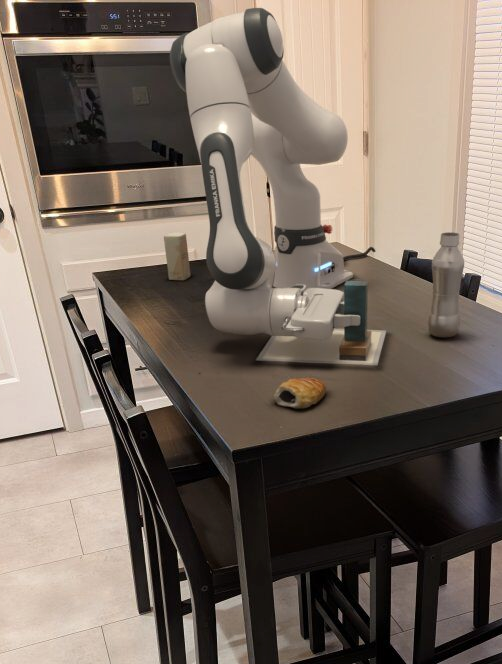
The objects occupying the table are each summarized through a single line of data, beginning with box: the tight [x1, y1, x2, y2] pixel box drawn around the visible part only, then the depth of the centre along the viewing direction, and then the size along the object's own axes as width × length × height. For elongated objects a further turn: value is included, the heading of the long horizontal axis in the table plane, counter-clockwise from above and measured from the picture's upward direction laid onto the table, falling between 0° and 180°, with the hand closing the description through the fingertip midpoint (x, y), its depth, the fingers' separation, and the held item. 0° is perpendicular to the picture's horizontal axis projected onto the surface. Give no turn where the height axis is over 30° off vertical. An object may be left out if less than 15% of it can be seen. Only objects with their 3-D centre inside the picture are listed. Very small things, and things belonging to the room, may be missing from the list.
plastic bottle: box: [427, 232, 465, 338], centre depth 143 cm, size 6×7×20 cm
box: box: [163, 231, 191, 281], centre depth 187 cm, size 5×4×11 cm
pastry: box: [273, 377, 327, 410], centre depth 121 cm, size 9×7×4 cm
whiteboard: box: [255, 328, 387, 366], centre depth 143 cm, size 23×20×1 cm
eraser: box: [339, 280, 371, 361], centre depth 136 cm, size 5×10×13 cm, turn 172°
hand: (362, 315), depth 135 cm, fingers open, 4 cm apart
